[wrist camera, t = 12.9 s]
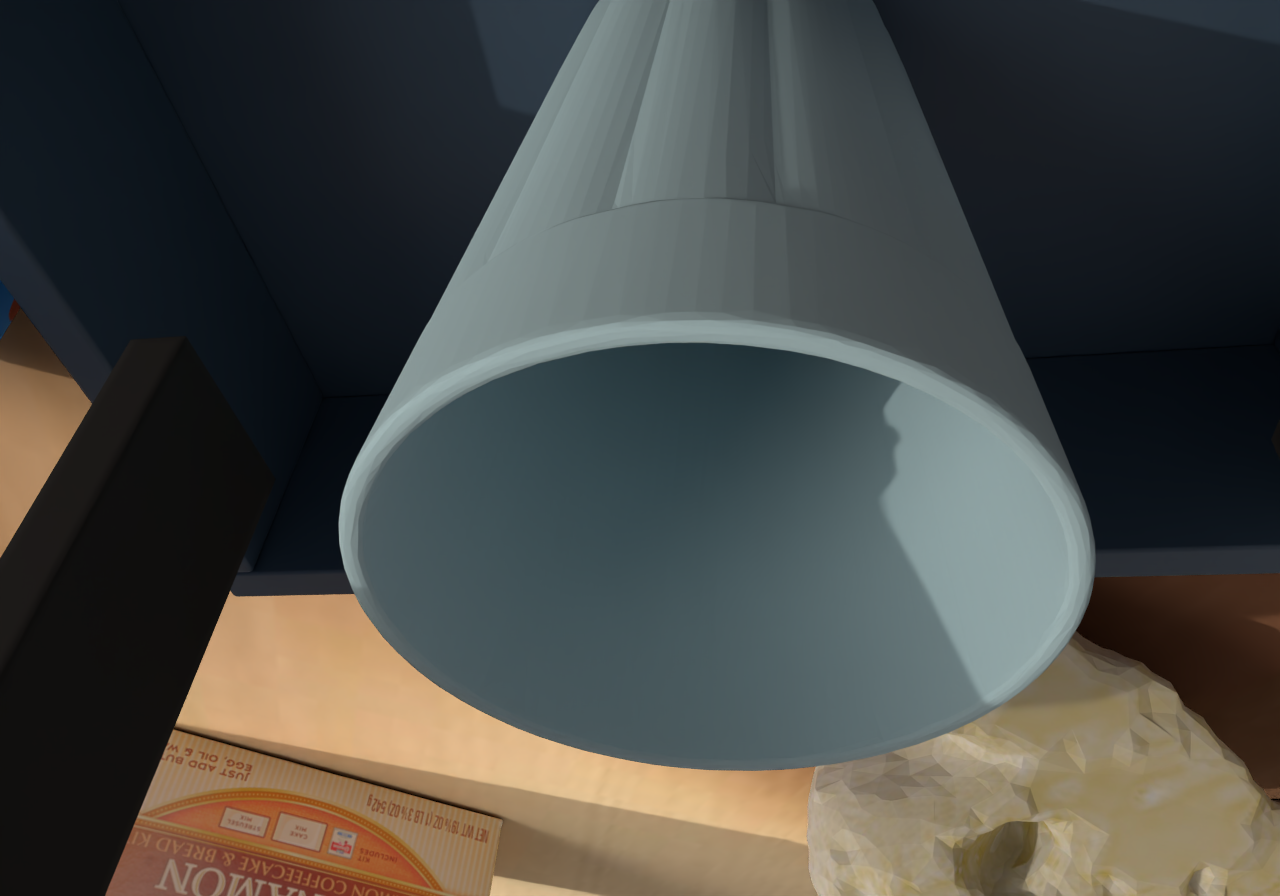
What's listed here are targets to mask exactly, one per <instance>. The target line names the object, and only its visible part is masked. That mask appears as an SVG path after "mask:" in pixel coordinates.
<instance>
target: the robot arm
mask: <svg viewBox="0 0 1280 896" xmlns="http://www.w3.org/2000/svg"><path fill="white" fill-rule="evenodd" d="M1271 440H1272V442H1273V445H1274V447H1275V450H1276V452H1277V455H1278V457H1279V459H1280V419H1279V421H1278V424H1277V426H1276V429H1275V431H1274V434H1273V436H1272V439H1271ZM275 480H276V479H275V477H274V475H273V474H272V472H271V471H270V469H269V467H268V466H267V464H266V463H265V461H264V459H263V458H262V456H261V455H260V453H259V451H258V450H257V448H256V447H255V445H254V443H253V442H252V440H251V439H250V437H249V436H248V434H247V432H246V431H245V429H244V428H243V426H242V424H241V423H240V421H239V420H238V418H237V416H236V415H235V413H234V412H233V410H232V408H231V407H230V405H229V404H228V402H227V400H226V399H225V397H224V396H223V394H222V393H221V391H220V389H219V388H218V386H217V385H216V383H215V381H214V380H213V378H212V377H211V375H210V373H209V372H208V370H207V369H206V367H205V365H204V364H203V362H202V361H201V359H200V357H199V356H198V354H197V353H196V351H195V350H194V348H193V346H192V345H191V343H190V342H189V340H188V338H187V337H186V336H177V337H162V338H147V339H132V340H130V341H129V343H128V345H127V347H126V348H125V350H124V352H123V353H122V355H121V357H120V358H119V360H118V362H117V363H116V365H115V367H114V368H113V370H112V372H111V373H110V375H109V377H108V378H107V380H106V382H105V383H104V385H103V387H102V389H101V390H100V392H99V394H98V395H97V397H96V399H95V400H94V402H93V404H92V405H91V407H90V409H89V410H88V412H87V414H86V415H85V417H84V419H83V420H82V422H81V424H80V425H79V427H78V429H77V431H76V432H75V434H74V436H73V437H72V439H71V441H70V442H69V444H68V446H67V447H66V449H65V451H64V452H63V454H62V456H61V457H60V459H59V461H58V462H57V464H56V466H55V467H54V469H53V471H52V472H51V474H50V476H49V478H48V479H47V481H46V483H45V484H44V486H43V488H42V489H41V491H40V493H39V494H38V496H37V498H36V499H35V501H34V503H33V504H32V506H31V508H30V509H29V511H28V513H27V514H26V516H25V518H24V520H23V521H22V523H21V525H20V526H19V528H18V530H17V531H16V533H15V535H14V536H13V538H12V540H11V541H10V543H9V545H8V546H7V548H6V550H5V551H4V553H3V555H2V556H1V558H0V896H105V895H106V892H107V890H108V887H109V885H110V882H111V880H112V878H113V875H114V873H115V870H116V868H117V865H118V863H119V860H120V858H121V856H122V853H123V851H124V848H125V846H126V843H127V841H128V838H129V836H130V834H131V831H132V829H133V826H134V824H135V821H136V819H137V817H138V814H139V812H140V809H141V807H142V804H143V802H144V799H145V797H146V795H147V792H148V790H149V787H150V785H151V782H152V780H153V777H154V775H155V773H156V770H157V768H158V765H159V763H160V760H161V758H162V756H163V753H164V751H165V748H166V746H167V743H168V741H169V738H170V736H171V734H172V731H173V729H174V726H175V724H176V721H177V719H178V716H179V714H180V712H181V709H182V707H183V704H184V702H185V699H186V697H187V695H188V692H189V690H190V687H191V685H192V682H193V680H194V677H195V675H196V673H197V670H198V668H199V665H200V663H201V660H202V658H203V655H204V653H205V651H206V648H207V646H208V643H209V641H210V638H211V636H212V633H213V631H214V629H215V626H216V624H217V621H218V619H219V616H220V614H221V612H222V609H223V607H224V604H225V602H226V599H227V597H228V594H229V592H230V590H231V587H232V585H233V582H234V580H235V577H236V575H237V572H238V570H239V568H240V565H241V563H242V560H243V558H244V555H245V553H246V551H247V548H248V546H249V543H250V541H251V538H252V536H253V533H254V531H255V529H256V526H257V524H258V521H259V519H260V516H261V514H262V511H263V509H264V507H265V504H266V502H267V499H268V497H269V494H270V492H271V490H272V487H273V485H274V482H275Z"/></svg>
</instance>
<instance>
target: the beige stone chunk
mask: <svg viewBox="0 0 1280 896" xmlns="http://www.w3.org/2000/svg"><path fill="white" fill-rule="evenodd" d="M807 841H808V847H809V867H808V869H809V873H810V877H811V881H812V884H813V886H814V888H815V890H816V892H817V894H818V896H1280V803H1279V802H1276V801H1272V800H1271V799H1270V798H1269V797H1268V796H1267V795H1266V793H1265V791H1264V789H1262V788H1261V787H1260V786H1258V785H1257V783H1256V782H1255V781H1254V780H1253V779H1252V776H1251V774H1250V772H1249V770H1248V768H1247V767H1246V765H1245V763H1244V762H1243V760H1241V759H1240V758H1239V757H1238V756H1237V755H1236V754H1235V753H1234V752H1233V751H1232V750H1231V749H1230V748H1229V747H1228V746H1226V745H1225V744H1224V743H1223V742H1222V741H1221V740H1220V739H1218V738H1217V736H1216V735H1215V734H1214V732H1213V731H1212V729H1211V728H1210V727H1209V725H1208V724H1207V723H1206V721H1205V720H1204V718H1203V717H1202V716H1200V715H1198V714H1197V713H1195V712H1193V711H1192V710H1190V709H1189V708H1187V707H1185V706H1184V704H1183V702H1182V701H1181V699H1180V697H1179V696H1178V694H1177V692H1176V690H1175V689H1174V687H1173V686H1172V684H1171V682H1169V681H1167V680H1166V679H1164V678H1162V677H1160V676H1158V675H1156V674H1155V673H1153V672H1151V671H1150V670H1149V669H1148V668H1147V667H1146V666H1145V665H1144V664H1143V663H1142V662H1139V661H1136V660H1133V659H1130V658H1127V657H1124V656H1123V655H1121V654H1119V653H1117V652H1115V651H1113V650H1109V649H1103V648H1101V647H1099V646H1098V645H1096V644H1094V643H1092V642H1091V641H1089V640H1087V639H1085V638H1083V637H1082V636H1081V635H1080V634H1079V633H1078V632H1077V631H1075V633H1074V634H1073V636H1072V638H1071V639H1070V641H1069V643H1068V644H1067V645H1066V647H1065V648H1064V649H1063V651H1062V652H1061V653H1060V655H1059V656H1058V657H1057V658H1056V659H1055V660H1054V662H1053V663H1052V664H1051V665H1050V666H1049V667H1048V668H1047V669H1046V670H1045V671H1044V672H1043V673H1042V674H1041V675H1040V676H1039V677H1038V678H1037V679H1035V680H1034V681H1033V682H1032V683H1031V684H1030V685H1028V686H1027V687H1026V688H1025V689H1024V690H1022V691H1021V692H1020V693H1018V694H1017V695H1015V696H1014V697H1013V698H1011V699H1010V700H1008V701H1007V702H1005V703H1004V704H1002V705H1001V706H999V707H998V708H996V709H994V710H992V711H991V712H989V713H987V714H986V715H984V716H982V717H980V718H978V719H977V720H975V721H973V722H971V723H968V724H966V725H964V726H962V727H960V728H958V729H955V730H953V731H951V732H949V733H947V734H944V735H941V736H939V737H936V738H933V739H930V740H928V741H925V742H922V743H920V744H917V745H913V746H910V747H906V748H903V749H899V750H896V751H892V752H889V753H886V754H882V755H877V756H873V757H869V758H863V759H858V760H853V761H848V762H843V763H837V764H831V765H822V766H816V768H815V772H814V775H813V780H812V784H811V789H810V794H809V798H808V829H807Z"/></svg>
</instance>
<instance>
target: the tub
mask: <svg viewBox="0 0 1280 896" xmlns="http://www.w3.org/2000/svg"><path fill="white" fill-rule="evenodd" d="M598 2H599V0H0V280H1V282H2V283H3V284H4V286H5V287H6V288H7V290H8V291H9V292H10V294H11V295H12V296H13V298H14V299H15V300H16V302H17V303H18V304H19V306H20V307H21V308H22V310H23V311H24V312H25V314H26V315H27V317H28V318H29V319H30V321H31V322H32V323H33V325H34V326H35V327H36V329H37V330H38V331H39V333H40V334H41V335H42V337H43V338H44V339H45V341H46V342H47V343H48V345H49V346H50V347H51V349H52V350H53V352H54V353H55V354H56V356H57V357H58V358H59V360H60V361H61V362H62V364H63V365H64V366H65V368H66V369H67V370H68V372H69V373H70V374H71V376H72V377H73V378H74V380H75V381H76V382H77V384H78V385H79V387H80V388H81V389H82V391H83V392H84V393H85V395H86V396H87V397H88V399H89V400H90V401H91V403H92V404H93V402H94V400H95V399H96V397H97V395H98V394H99V392H100V390H101V389H102V387H103V385H104V383H105V382H106V380H107V378H108V377H109V375H110V373H111V372H112V370H113V368H114V367H115V365H116V363H117V362H118V360H119V358H120V357H121V355H122V353H123V352H124V350H125V348H126V347H127V345H128V343H129V341H130V340H132V339H147V338H162V337H177V336H186V337H187V338H188V340H189V342H190V343H191V345H192V346H193V348H194V350H195V351H196V353H197V354H198V356H199V357H200V359H201V361H202V362H203V364H204V365H205V367H206V369H207V370H208V372H209V373H210V375H211V377H212V378H213V380H214V381H215V383H216V385H217V386H218V388H219V389H220V391H221V393H222V394H223V396H224V397H225V399H226V400H227V402H228V404H229V405H230V407H231V408H232V410H233V412H234V413H235V415H236V416H237V418H238V420H239V421H240V423H241V424H242V426H243V428H244V429H245V431H246V432H247V434H248V436H249V437H250V439H251V440H252V442H253V443H254V445H255V447H256V448H257V450H258V451H259V453H260V455H261V456H262V458H263V459H264V461H265V463H266V464H267V466H268V467H269V469H270V471H271V472H272V474H273V475H274V477H275V479H276V480H275V482H274V485H273V487H272V490H271V492H270V494H269V497H268V499H267V502H266V504H265V507H264V509H263V511H262V514H261V516H260V519H259V521H258V524H257V526H256V529H255V531H254V533H253V536H252V538H251V541H250V543H249V546H248V548H247V551H246V553H245V555H244V558H243V560H242V563H241V565H240V568H239V570H238V572H237V575H236V577H235V580H234V582H233V585H232V587H231V590H230V591H231V592H232V593H233V595H235V596H281V595H326V594H354V592H353V590H352V588H351V585H350V582H349V579H348V577H347V574H346V571H345V569H344V564H343V559H342V554H341V549H340V544H339V515H340V506H341V499H342V495H343V492H344V488H345V485H346V482H347V479H348V476H349V474H350V471H351V469H352V467H353V465H354V463H355V460H356V458H357V456H358V454H359V452H360V450H361V449H362V447H363V445H364V443H365V441H366V439H367V437H368V435H369V433H370V431H371V429H372V428H373V426H374V424H375V422H376V420H377V418H378V416H379V414H380V412H381V410H382V408H383V406H384V405H385V403H386V401H387V399H388V397H389V395H390V393H391V391H392V389H393V387H394V385H395V384H396V382H397V380H398V378H399V376H400V374H401V372H402V370H403V368H404V366H405V364H406V363H407V361H408V359H409V357H410V355H411V353H412V351H413V349H414V347H415V345H416V343H417V342H418V340H419V338H420V336H421V334H422V332H423V331H424V329H425V327H426V325H427V324H428V322H429V321H430V319H431V317H432V315H433V313H434V311H435V309H436V307H437V306H438V304H439V302H440V300H441V298H442V296H443V294H444V292H445V290H446V288H447V286H448V284H449V282H450V281H451V279H452V277H453V275H454V273H455V271H456V269H457V267H458V265H459V263H460V261H461V259H462V257H463V255H464V254H465V252H466V250H467V248H468V246H469V244H470V242H471V240H472V238H473V236H474V234H475V232H476V230H477V228H478V227H479V225H480V223H481V221H482V219H483V217H484V215H485V213H486V211H487V209H488V207H489V205H490V203H491V201H492V200H493V198H494V196H495V194H496V192H497V190H498V188H499V186H500V184H501V182H502V180H503V178H504V176H505V175H506V173H507V171H508V169H509V167H510V165H511V163H512V161H513V159H514V157H515V155H516V153H517V151H518V149H519V148H520V146H521V144H522V142H523V140H524V138H525V136H526V134H527V132H528V130H529V128H530V126H531V124H532V122H533V121H534V119H535V117H536V115H537V113H538V111H539V109H540V107H541V105H542V103H543V101H544V99H545V97H546V95H547V94H548V92H549V90H550V88H551V86H552V84H553V82H554V80H555V78H556V76H557V74H558V72H559V70H560V69H561V67H562V65H563V63H564V61H565V59H566V57H567V56H568V54H569V52H570V50H571V48H572V46H573V45H574V43H575V41H576V39H577V37H578V35H579V33H580V32H581V30H582V28H583V26H584V24H585V23H586V21H587V19H588V17H589V15H590V14H591V12H592V10H593V9H594V7H595V6H596V4H597V3H598ZM873 2H874V4H875V5H876V7H877V10H878V12H879V14H880V17H881V19H882V21H883V24H884V26H885V27H886V29H887V31H888V33H889V35H890V37H891V39H892V41H893V43H894V46H895V48H896V50H897V52H898V55H899V57H900V59H901V61H902V63H903V66H904V68H905V70H906V73H907V75H908V78H909V80H910V82H911V85H912V87H913V90H914V92H915V95H916V97H917V100H918V102H919V105H920V107H921V109H922V112H923V114H924V117H925V119H926V122H927V124H928V127H929V129H930V132H931V134H932V137H933V139H934V141H935V144H936V146H937V149H938V151H939V154H940V156H941V159H942V161H943V164H944V166H945V169H946V171H947V173H948V176H949V178H950V181H951V183H952V186H953V188H954V191H955V193H956V196H957V198H958V200H959V203H960V205H961V208H962V210H963V213H964V215H965V218H966V220H967V223H968V225H969V228H970V230H971V232H972V235H973V237H974V240H975V242H976V245H977V247H978V250H979V252H980V255H981V257H982V260H983V262H984V264H985V267H986V269H987V272H988V274H989V277H990V279H991V282H992V284H993V287H994V289H995V291H996V294H997V296H998V299H999V301H1000V304H1001V306H1002V309H1003V311H1004V314H1005V316H1006V319H1007V321H1008V323H1009V326H1010V328H1011V331H1012V333H1013V336H1014V338H1015V340H1016V342H1017V344H1018V345H1019V347H1020V349H1021V351H1022V353H1023V355H1024V357H1025V359H1026V361H1027V363H1028V365H1029V367H1030V370H1031V372H1032V375H1033V377H1034V380H1035V382H1036V384H1037V387H1038V389H1039V392H1040V394H1041V396H1042V399H1043V401H1044V404H1045V406H1046V409H1047V411H1048V413H1049V416H1050V418H1051V421H1052V423H1053V426H1054V428H1055V430H1056V433H1057V435H1058V438H1059V440H1060V442H1061V445H1062V447H1063V450H1064V452H1065V455H1066V457H1067V459H1068V462H1069V464H1070V467H1071V469H1072V472H1073V474H1074V476H1075V479H1076V481H1077V484H1078V486H1079V488H1080V491H1081V493H1082V496H1083V498H1084V501H1085V504H1086V507H1087V510H1088V513H1089V516H1090V520H1091V525H1092V531H1093V536H1094V541H1095V554H1096V564H1095V576H1094V577H1130V576H1174V575H1219V574H1264V573H1280V459H1279V457H1278V455H1277V452H1276V450H1275V447H1274V445H1273V442H1272V440H1271V439H1272V436H1273V434H1274V431H1275V429H1276V426H1277V424H1278V421H1279V419H1280V0H873Z"/></svg>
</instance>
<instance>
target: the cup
mask: <svg viewBox="0 0 1280 896" xmlns="http://www.w3.org/2000/svg"><path fill="white" fill-rule="evenodd" d="M339 544H340V549H341V554H342V559H343V564H344V569H345V571H346V574H347V577H348V579H349V582H350V585H351V588H352V590H353V592H354V594H355V596H356V598H357V600H358V602H359V604H360V605H361V607H362V609H363V610H364V612H365V613H366V615H367V616H368V617H369V619H370V620H371V622H372V623H373V624H374V626H375V627H376V628H377V630H378V631H379V632H380V634H381V635H382V637H383V638H384V639H385V640H386V641H387V642H388V643H389V644H390V645H391V646H392V647H393V648H394V649H395V650H396V651H397V652H398V653H399V654H400V655H401V656H402V657H403V658H404V659H405V660H406V661H408V662H409V663H410V664H411V665H412V666H413V667H414V668H415V669H416V670H418V671H419V672H420V673H421V674H423V675H424V676H425V677H427V678H428V679H429V680H431V681H432V682H433V683H435V684H436V685H438V686H439V687H441V688H442V689H444V690H445V691H447V692H448V693H450V694H452V695H453V696H455V697H456V698H458V699H460V700H461V701H463V702H465V703H467V704H469V705H471V706H472V707H474V708H476V709H478V710H480V711H482V712H484V713H486V714H488V715H490V716H492V717H494V718H496V719H498V720H500V721H502V722H505V723H507V724H509V725H511V726H514V727H516V728H518V729H521V730H523V731H526V732H529V733H531V734H534V735H536V736H539V737H542V738H545V739H548V740H551V741H554V742H557V743H561V744H564V745H567V746H571V747H574V748H577V749H581V750H584V751H588V752H593V753H597V754H602V755H606V756H611V757H615V758H620V759H625V760H630V761H635V762H641V763H648V764H654V765H661V766H670V767H679V768H691V769H703V770H743V771H761V770H783V769H796V768H805V767H814V766H822V765H831V764H837V763H843V762H848V761H853V760H858V759H863V758H869V757H873V756H877V755H882V754H886V753H889V752H892V751H896V750H899V749H903V748H906V747H910V746H913V745H917V744H920V743H922V742H925V741H928V740H930V739H933V738H936V737H939V736H941V735H944V734H947V733H949V732H951V731H953V730H955V729H958V728H960V727H962V726H964V725H966V724H968V723H971V722H973V721H975V720H977V719H978V718H980V717H982V716H984V715H986V714H987V713H989V712H991V711H992V710H994V709H996V708H998V707H999V706H1001V705H1002V704H1004V703H1005V702H1007V701H1008V700H1010V699H1011V698H1013V697H1014V696H1015V695H1017V694H1018V693H1020V692H1021V691H1022V690H1024V689H1025V688H1026V687H1027V686H1028V685H1030V684H1031V683H1032V682H1033V681H1034V680H1035V679H1037V678H1038V677H1039V676H1040V675H1041V674H1042V673H1043V672H1044V671H1045V670H1046V669H1047V668H1048V667H1049V666H1050V665H1051V664H1052V663H1053V662H1054V660H1055V659H1056V658H1057V657H1058V656H1059V655H1060V653H1061V652H1062V651H1063V649H1064V648H1065V647H1066V645H1067V644H1068V643H1069V641H1070V639H1071V638H1072V636H1073V634H1074V633H1075V631H1076V629H1077V628H1078V626H1079V624H1080V623H1081V620H1082V618H1083V616H1084V613H1085V611H1086V609H1087V606H1088V604H1089V601H1090V597H1091V593H1092V588H1093V582H1094V576H1095V564H1096V554H1095V541H1094V536H1093V531H1092V525H1091V520H1090V516H1089V513H1088V510H1087V507H1086V504H1085V501H1084V498H1083V496H1082V493H1081V491H1080V488H1079V486H1078V484H1077V481H1076V479H1075V476H1074V474H1073V472H1072V469H1071V467H1070V464H1069V462H1068V459H1067V457H1066V455H1065V452H1064V450H1063V447H1062V445H1061V442H1060V440H1059V438H1058V435H1057V433H1056V430H1055V428H1054V426H1053V423H1052V421H1051V418H1050V416H1049V413H1048V411H1047V409H1046V406H1045V404H1044V401H1043V399H1042V396H1041V394H1040V392H1039V389H1038V387H1037V384H1036V382H1035V380H1034V377H1033V375H1032V372H1031V370H1030V367H1029V365H1028V363H1027V361H1026V359H1025V357H1024V355H1023V353H1022V351H1021V349H1020V347H1019V345H1018V344H1017V342H1016V340H1015V338H1014V336H1013V333H1012V331H1011V328H1010V326H1009V323H1008V321H1007V319H1006V316H1005V314H1004V311H1003V309H1002V306H1001V304H1000V301H999V299H998V296H997V294H996V291H995V289H994V287H993V284H992V282H991V279H990V277H989V274H988V272H987V269H986V267H985V264H984V262H983V260H982V257H981V255H980V252H979V250H978V247H977V245H976V242H975V240H974V237H973V235H972V232H971V230H970V228H969V225H968V223H967V220H966V218H965V215H964V213H963V210H962V208H961V205H960V203H959V200H958V198H957V196H956V193H955V191H954V188H953V186H952V183H951V181H950V178H949V176H948V173H947V171H946V169H945V166H944V164H943V161H942V159H941V156H940V154H939V151H938V149H937V146H936V144H935V141H934V139H933V137H932V134H931V132H930V129H929V127H928V124H927V122H926V119H925V117H924V114H923V112H922V109H921V107H920V105H919V102H918V100H917V97H916V95H915V92H914V90H913V87H912V85H911V82H910V80H909V78H908V75H907V73H906V70H905V68H904V66H903V63H902V61H901V59H900V57H899V55H898V52H897V50H896V48H895V46H894V43H893V41H892V39H891V37H890V35H889V33H888V31H887V29H886V27H885V26H884V24H883V21H882V19H881V17H880V14H879V12H878V10H877V7H876V5H875V4H874V2H873V0H599V2H598V3H597V4H596V6H595V7H594V9H593V10H592V12H591V14H590V15H589V17H588V19H587V21H586V23H585V24H584V26H583V28H582V30H581V32H580V33H579V35H578V37H577V39H576V41H575V43H574V45H573V46H572V48H571V50H570V52H569V54H568V56H567V57H566V59H565V61H564V63H563V65H562V67H561V69H560V70H559V72H558V74H557V76H556V78H555V80H554V82H553V84H552V86H551V88H550V90H549V92H548V94H547V95H546V97H545V99H544V101H543V103H542V105H541V107H540V109H539V111H538V113H537V115H536V117H535V119H534V121H533V122H532V124H531V126H530V128H529V130H528V132H527V134H526V136H525V138H524V140H523V142H522V144H521V146H520V148H519V149H518V151H517V153H516V155H515V157H514V159H513V161H512V163H511V165H510V167H509V169H508V171H507V173H506V175H505V176H504V178H503V180H502V182H501V184H500V186H499V188H498V190H497V192H496V194H495V196H494V198H493V200H492V201H491V203H490V205H489V207H488V209H487V211H486V213H485V215H484V217H483V219H482V221H481V223H480V225H479V227H478V228H477V230H476V232H475V234H474V236H473V238H472V240H471V242H470V244H469V246H468V248H467V250H466V252H465V254H464V255H463V257H462V259H461V261H460V263H459V265H458V267H457V269H456V271H455V273H454V275H453V277H452V279H451V281H450V282H449V284H448V286H447V288H446V290H445V292H444V294H443V296H442V298H441V300H440V302H439V304H438V306H437V307H436V309H435V311H434V313H433V315H432V317H431V319H430V321H429V322H428V324H427V325H426V327H425V329H424V331H423V332H422V334H421V336H420V338H419V340H418V342H417V343H416V345H415V347H414V349H413V351H412V353H411V355H410V357H409V359H408V361H407V363H406V364H405V366H404V368H403V370H402V372H401V374H400V376H399V378H398V380H397V382H396V384H395V385H394V387H393V389H392V391H391V393H390V395H389V397H388V399H387V401H386V403H385V405H384V406H383V408H382V410H381V412H380V414H379V416H378V418H377V420H376V422H375V424H374V426H373V428H372V429H371V431H370V433H369V435H368V437H367V439H366V441H365V443H364V445H363V447H362V449H361V450H360V452H359V454H358V456H357V458H356V460H355V463H354V465H353V467H352V469H351V471H350V474H349V476H348V479H347V482H346V485H345V488H344V492H343V495H342V499H341V506H340V515H339Z"/></svg>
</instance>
